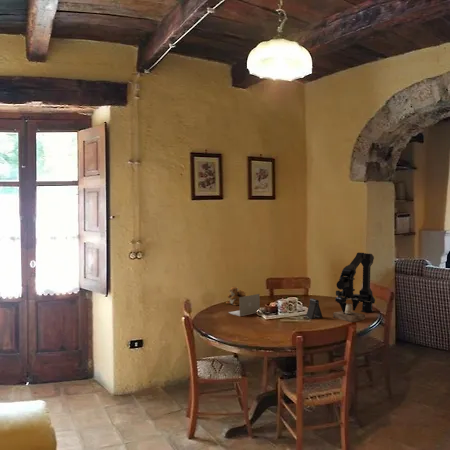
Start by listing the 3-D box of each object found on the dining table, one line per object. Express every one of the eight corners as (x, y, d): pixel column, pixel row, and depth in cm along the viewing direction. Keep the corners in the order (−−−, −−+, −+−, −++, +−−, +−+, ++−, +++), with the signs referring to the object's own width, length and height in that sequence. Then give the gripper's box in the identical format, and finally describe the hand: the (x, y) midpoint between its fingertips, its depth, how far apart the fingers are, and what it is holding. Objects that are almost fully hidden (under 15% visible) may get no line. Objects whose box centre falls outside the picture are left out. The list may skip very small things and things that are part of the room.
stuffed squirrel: (224, 304, 366) (224, 286, 365) (239, 301, 374) (239, 284, 373) (232, 306, 358) (232, 288, 357) (247, 303, 366) (247, 286, 365)
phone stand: (311, 319, 315) (311, 300, 315) (305, 317, 321) (305, 299, 320) (322, 317, 319) (322, 299, 319) (317, 315, 325) (316, 297, 324)
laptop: (247, 309, 347) (247, 291, 347) (259, 312, 338) (259, 293, 337) (228, 313, 336) (227, 294, 336) (239, 316, 326) (239, 297, 326)
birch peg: (348, 317, 319) (348, 303, 318) (353, 318, 315) (353, 304, 315) (343, 318, 316) (343, 304, 316) (348, 319, 313) (348, 305, 312)
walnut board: (346, 314, 326) (346, 310, 325) (364, 319, 312) (364, 314, 312) (333, 317, 319) (333, 312, 319) (351, 322, 306) (351, 317, 306)
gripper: (349, 284, 326) (349, 307, 327) (329, 287, 316) (329, 311, 317) (362, 286, 317) (362, 310, 318) (341, 289, 307) (341, 314, 308)
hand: (348, 311), depth 315 cm, fingers open, 9 cm apart
